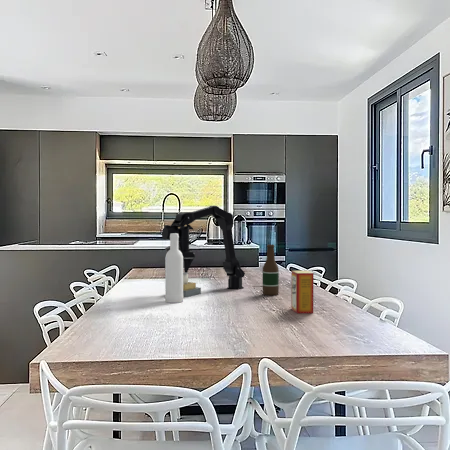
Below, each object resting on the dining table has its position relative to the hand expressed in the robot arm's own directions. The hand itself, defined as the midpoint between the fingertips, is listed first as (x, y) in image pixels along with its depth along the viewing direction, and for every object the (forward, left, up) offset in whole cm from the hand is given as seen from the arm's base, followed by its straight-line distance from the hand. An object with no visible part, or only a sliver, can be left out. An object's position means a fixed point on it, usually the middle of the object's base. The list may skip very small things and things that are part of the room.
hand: (183, 271), depth 232 cm
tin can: (0, 0, -8) cm, 8 cm away
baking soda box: (-64, +6, -11) cm, 65 cm away
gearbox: (+1, 0, -11) cm, 11 cm away
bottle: (-8, +17, -11) cm, 22 cm away
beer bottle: (-35, -23, -11) cm, 44 cm away
